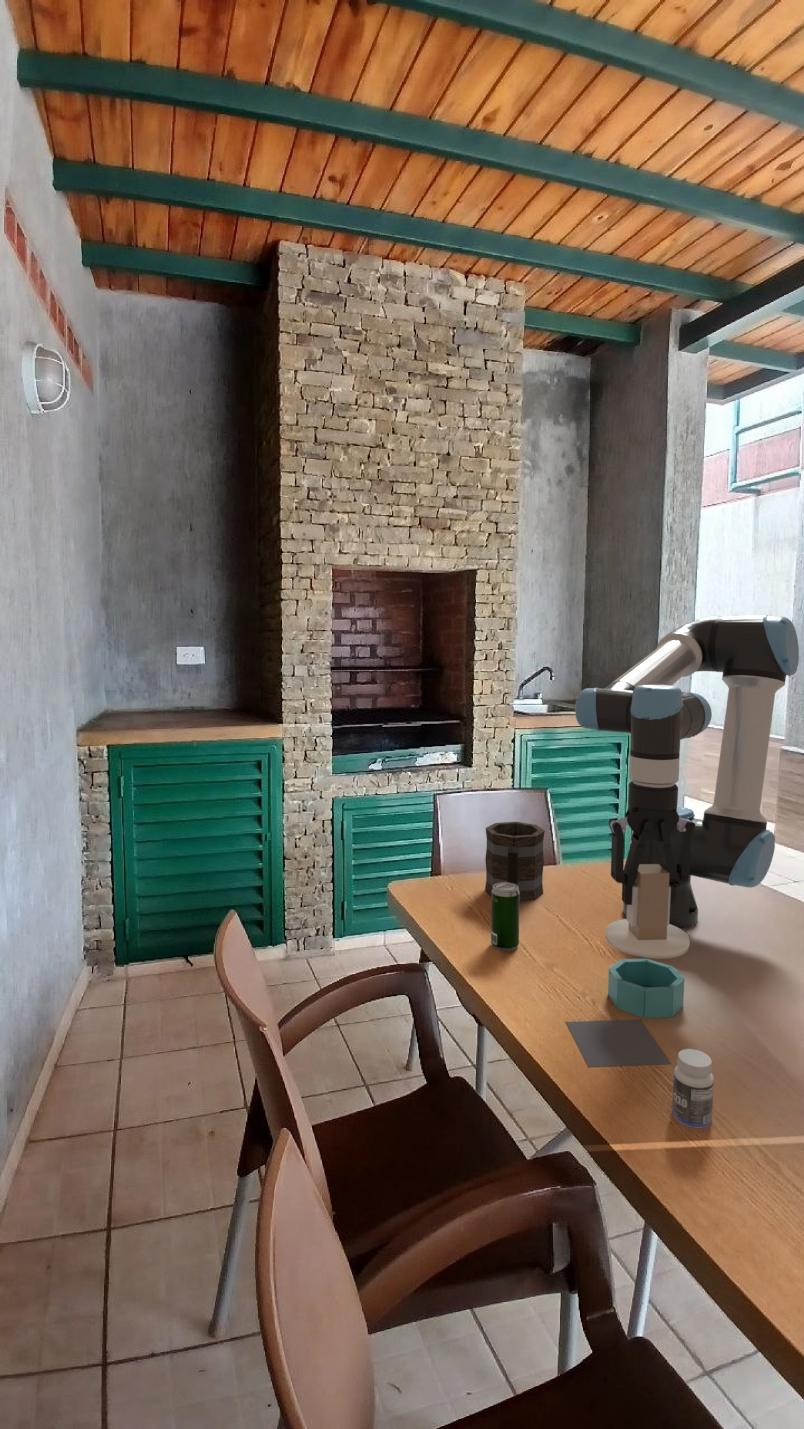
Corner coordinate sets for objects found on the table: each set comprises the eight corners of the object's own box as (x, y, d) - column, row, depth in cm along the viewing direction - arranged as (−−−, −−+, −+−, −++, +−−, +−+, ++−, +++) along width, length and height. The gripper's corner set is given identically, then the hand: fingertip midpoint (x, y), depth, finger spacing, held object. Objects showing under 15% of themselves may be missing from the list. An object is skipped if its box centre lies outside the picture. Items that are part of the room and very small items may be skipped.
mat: (640, 1022, 119) (640, 1019, 119) (671, 1067, 107) (671, 1063, 107) (565, 1024, 118) (565, 1021, 118) (588, 1070, 106) (588, 1067, 106)
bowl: (664, 985, 131) (665, 958, 130) (691, 1018, 120) (693, 989, 119) (601, 987, 130) (602, 959, 129) (623, 1021, 119) (624, 991, 119)
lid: (669, 924, 130) (672, 855, 129) (703, 957, 117) (707, 881, 116) (595, 925, 130) (597, 857, 128) (621, 959, 117) (624, 883, 115)
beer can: (503, 954, 143) (504, 893, 141) (485, 944, 147) (485, 885, 146) (524, 947, 146) (525, 888, 144) (506, 938, 150) (506, 880, 149)
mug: (486, 880, 184) (487, 820, 182) (543, 883, 181) (544, 822, 179) (480, 911, 164) (481, 844, 163) (543, 915, 162) (544, 847, 160)
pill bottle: (665, 1108, 98) (668, 1047, 97) (700, 1106, 98) (703, 1045, 97) (682, 1132, 93) (685, 1069, 92) (718, 1130, 94) (722, 1067, 93)
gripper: (697, 776, 124) (690, 912, 127) (591, 778, 123) (587, 915, 126) (718, 786, 117) (710, 930, 120) (606, 788, 116) (601, 933, 119)
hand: (647, 922), depth 123 cm, fingers closed on lid, 5 cm apart
